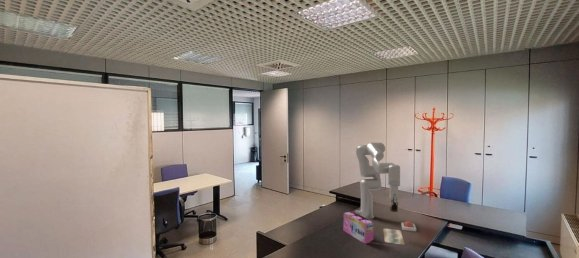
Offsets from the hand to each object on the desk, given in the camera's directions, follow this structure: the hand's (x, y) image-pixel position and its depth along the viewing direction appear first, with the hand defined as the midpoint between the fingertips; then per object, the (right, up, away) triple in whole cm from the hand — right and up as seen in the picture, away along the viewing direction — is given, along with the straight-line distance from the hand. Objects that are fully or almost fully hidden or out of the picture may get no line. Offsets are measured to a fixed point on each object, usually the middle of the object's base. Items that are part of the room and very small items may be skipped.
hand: (393, 208), depth 175 cm
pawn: (0, -1, 0) cm, 1 cm away
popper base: (+16, -20, +13) cm, 29 cm away
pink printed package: (-24, -20, +3) cm, 32 cm away
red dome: (+16, -19, +13) cm, 29 cm away
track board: (0, -20, +1) cm, 20 cm away
